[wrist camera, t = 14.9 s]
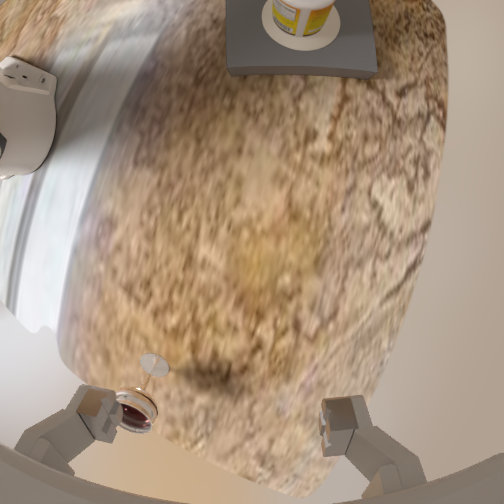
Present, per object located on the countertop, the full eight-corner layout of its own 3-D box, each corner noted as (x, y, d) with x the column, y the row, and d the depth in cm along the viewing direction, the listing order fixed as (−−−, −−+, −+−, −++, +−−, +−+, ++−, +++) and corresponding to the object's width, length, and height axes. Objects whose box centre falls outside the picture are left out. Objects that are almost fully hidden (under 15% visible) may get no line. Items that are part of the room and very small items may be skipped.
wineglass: (152, 342, 43) (123, 395, 32) (182, 371, 45) (163, 427, 33) (127, 359, 45) (97, 409, 34) (156, 385, 46) (134, 438, 35)
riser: (231, 76, 31) (226, 67, 27) (229, -6, 27) (225, -21, 23) (366, 79, 30) (378, 72, 26) (357, -2, 26) (366, -16, 22)
